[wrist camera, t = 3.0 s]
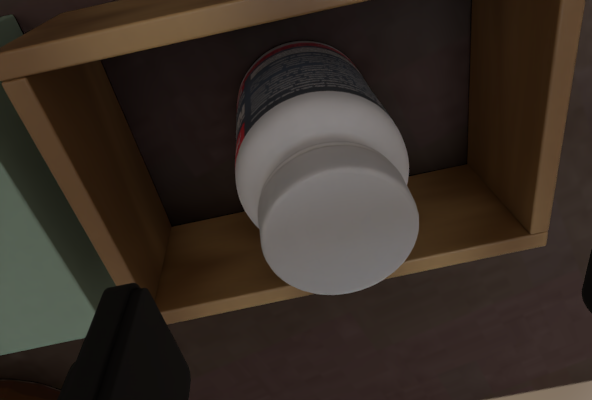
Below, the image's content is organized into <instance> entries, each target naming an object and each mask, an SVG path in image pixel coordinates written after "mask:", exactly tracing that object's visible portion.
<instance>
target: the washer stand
mask: <svg viewBox="0 0 592 400" xmlns="http://www.w3.org/2000/svg"><path fill="white" fill-rule="evenodd" d="M22 35H23V33H22V31H21V29H20V27H19V25H18V23H17V21H16V19H15V17H14V16H13V15H6V16H2V17H0V48H1V47H2V46H4V45H6V44H8V43H9V42H11V41H13V40H15V39H17V38H18V37H20V36H22ZM2 82H3V81H0V355H5V354H9V353H14V352H19V351H24V350H29V349H33V348H38V347H43V346H48V345H53V344H57V343H62V342H67V341H72V340H77V339H81V338H85V337H86V335H87V332H88V330H89V327H90V325H91V322H92V319H93V317H94V314H95V312H96V309H97V307H98V304H99V301H100V299H101V296H102V294H103V292H104V290H105V289H107V288H109V287H114V286H116V285H115V283H114V281H113V279H112V278H111V276H110V274H109V272H108V271H107V269H106V267H105V265H104V264H103V262H102V260H101V258H100V257H99V255H98V253H97V251H96V250H95V248H94V246H93V244H92V243H91V241H90V239H89V237H88V236H87V234H86V232H85V230H84V229H83V227H82V225H81V223H80V222H79V220H78V218H77V216H76V215H75V213H74V211H73V209H72V208H71V206H70V204H69V202H68V201H67V199H66V197H65V195H64V194H63V192H62V190H61V188H60V187H59V185H58V183H57V181H56V180H55V178H54V176H53V174H52V173H51V171H50V169H49V167H48V166H47V164H46V162H45V160H44V159H43V157H42V155H41V153H40V152H39V150H38V148H37V146H36V144H35V143H34V141H33V139H32V137H31V136H30V134H29V132H28V130H27V129H26V127H25V125H24V123H23V122H22V120H21V118H20V116H19V115H18V113H17V111H16V109H15V108H14V106H13V104H12V102H11V101H10V99H9V97H8V95H7V94H6V92H5V90H4V88H3V87H2V84H1V83H2Z"/></svg>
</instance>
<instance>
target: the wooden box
mask: <svg viewBox="0 0 592 400" xmlns="http://www.w3.org/2000/svg"><path fill="white" fill-rule="evenodd" d="M365 1H369V0H118V1H114V2H109V3H105V4H100V5H96V6H91V7H87V8H82V9H78V10H73V11H69V12H65V13H61V14H59V15H57V16H55V17H54V18H52V19H50V20H48V21H47V22H45V23H43V24H41V25H40V26H38V27H36V28H34V29H32V30H31V31H29V32H27V33H25V34H24V35H22V36H20V37H18V38H17V39H15V40H13V41H11V42H9V43H8V44H6V45H4V46H2V47H1V48H0V81H3V82H2V83H1V84H2V87H3V88H4V90H5V92H6V94H7V95H8V97H9V99H10V101H11V102H12V104H13V106H14V108H15V109H16V111H17V113H18V115H19V116H20V118H21V120H22V122H23V123H24V125H25V127H26V129H27V130H28V132H29V134H30V136H31V137H32V139H33V141H34V143H35V144H36V146H37V148H38V150H39V152H40V153H41V155H42V157H43V159H44V160H45V162H46V164H47V166H48V167H49V169H50V171H51V173H52V174H53V176H54V178H55V180H56V181H57V183H58V185H59V187H60V188H61V190H62V192H63V194H64V195H65V197H66V199H67V201H68V202H69V204H70V206H71V208H72V209H73V211H74V213H75V215H76V216H77V218H78V220H79V222H80V223H81V225H82V227H83V229H84V230H85V232H86V234H87V236H88V237H89V239H90V241H91V243H92V244H93V246H94V248H95V250H96V251H97V253H98V255H99V257H100V258H101V260H102V262H103V264H104V265H105V267H106V269H107V271H108V272H109V274H110V276H111V278H112V279H113V281H114V283H115V285H116V286H119V285H124V284H129V283H136V284H138V285H139V287H140V288H147V289H148V290H149V292H150V293H151V295H152V297H153V299H154V301H155V303H156V305H157V307H158V309H159V311H160V313H161V315H162V316H163V318H164V320H165V322H166V324H172V323H177V322H182V321H186V320H191V319H196V318H201V317H206V316H210V315H215V314H220V313H225V312H229V311H234V310H239V309H244V308H249V307H253V306H258V305H263V304H268V303H273V302H277V301H282V300H287V299H292V298H297V297H301V296H306V295H311V294H315V293H310V292H306V291H302V290H300V289H297V288H295V287H293V286H291V285H289V284H288V283H286V282H285V281H283V280H282V279H281V278H280V277H278V276H277V275H276V274H275V273H274V272H273V270H272V269H271V268H270V266H269V264H268V263H267V262H266V260H265V257H264V255H263V252H262V248H261V241H260V231H259V228H258V227H257V226H256V225H255V224H254V223H253V222H252V221H251V219H250V218H249V216H248V215H247V214H246V212H245V211H244V212H240V213H235V214H230V215H225V216H221V217H216V218H211V219H207V220H202V221H197V222H193V223H188V224H183V225H179V226H174V227H171V223H170V221H169V219H168V216H167V214H166V212H165V209H164V207H163V205H162V202H161V200H160V198H159V196H158V193H157V191H156V189H155V186H154V184H153V182H152V179H151V177H150V175H149V172H148V170H147V168H146V165H145V163H144V161H143V158H142V156H141V154H140V151H139V149H138V147H137V144H136V142H135V140H134V137H133V135H132V133H131V131H130V128H129V126H128V124H127V121H126V119H125V117H124V114H123V112H122V110H121V107H120V105H119V103H118V100H117V98H116V96H115V93H114V91H113V89H112V86H111V84H110V82H109V79H108V77H107V75H106V72H105V70H104V68H103V65H102V63H101V61H100V60H102V59H107V58H111V57H116V56H121V55H125V54H130V53H134V52H139V51H143V50H148V49H152V48H157V47H161V46H166V45H170V44H175V43H179V42H184V41H188V40H193V39H197V38H202V37H206V36H211V35H215V34H220V33H225V32H229V31H234V30H238V29H243V28H247V27H252V26H256V25H261V24H265V23H270V22H274V21H279V20H283V19H288V18H292V17H297V16H301V15H306V14H310V13H315V12H320V11H324V10H329V9H333V8H338V7H342V6H347V5H351V4H356V3H360V2H365ZM584 6H585V0H472V21H471V55H470V88H469V122H468V156H467V163H468V164H465V165H460V166H456V167H451V168H446V169H442V170H437V171H432V172H428V173H423V174H418V175H413V176H409V177H408V183H407V187H408V189H409V191H410V193H411V195H412V197H413V199H414V201H415V203H416V206H417V210H418V214H419V231H418V236H417V239H416V242H415V245H414V247H413V249H412V251H411V253H410V254H409V256H408V257H407V258H406V260H405V261H404V263H403V264H402V265H401V266H400V267H399V268H398V269H397V270H396V271H395V272H393V273H392V274H391V275H389V276H388V277H386V278H385V279H388V278H393V277H397V276H402V275H407V274H412V273H417V272H421V271H426V270H431V269H436V268H441V267H445V266H450V265H455V264H460V263H465V262H469V261H474V260H479V259H484V258H489V257H493V256H498V255H503V254H508V253H512V252H517V251H522V250H527V249H532V248H536V247H541V246H545V245H546V242H547V236H548V232H547V231H548V229H549V223H550V217H551V211H552V205H553V199H554V192H555V186H556V180H557V174H558V167H559V161H560V155H561V149H562V143H563V136H564V130H565V124H566V118H567V112H568V105H569V99H570V93H571V87H572V80H573V74H574V68H575V62H576V56H577V49H578V43H579V37H580V31H581V25H582V18H583V12H584Z"/></svg>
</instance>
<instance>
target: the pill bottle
mask: <svg viewBox="0 0 592 400" xmlns="http://www.w3.org/2000/svg"><path fill="white" fill-rule="evenodd" d="M236 124H237V125H236V152H235V179H236V187H237V192H238V196H239V199H240V202H241V204H242V206H243V208H244V210H245V212H246V214H247V215H248V216H249V218H250V219H251V221H252V222H253V223H254V224H255V225H256V226H257V227H258V228H259V231H260V241H261V248H262V252H263V255H264V257H265V260H266V262H267V263H268V264H269V266H270V268H271V269H272V270H273V272H274V273H275V274H276V275H277V276H278V277H280V278H281V279H282V280H283V281H285V282H286V283H288V284H289V285H291V286H293V287H295V288H297V289H300V290H302V291H306V292H310V293H315V294H321V295H339V294H347V293H352V292H355V291H360V290H363V289H365V288H368V287H370V286H373V285H375V284H377V283H378V282H380V281H382V280H384V279H385V278H386V277H388V276H389V275H391V274H392V273H393V272H395V271H396V270H397V269H398V268H399V267H400V266H401V265H402V264H403V263H404V261H405V260H406V258H407V257H408V256H409V254H410V253H411V251H412V249H413V247H414V245H415V242H416V239H417V236H418V231H419V214H418V210H417V206H416V203H415V201H414V199H413V197H412V195H411V193H410V191H409V189H408V187H407V183H408V177H409V159H408V153H407V150H406V146H405V143H404V141H403V138H402V136H401V134H400V132H399V130H398V128H397V126H396V125H395V123H394V121H393V120H392V118H391V116H390V115H389V114H388V112H387V111H386V110H385V108H384V107H383V106H382V104H381V103H380V102H379V100H378V99H377V97H376V96H375V95H374V93H373V92H372V90H371V89H370V87H369V86H368V84H367V83H366V81H365V80H364V78H363V76H362V75H361V73H360V72H359V70H358V69H357V67H356V66H355V65H354V64H353V63H352V62H351V60H350V59H349V58H348V57H347V56H345V55H344V54H343V53H342V52H340V51H339V50H337V49H335V48H333V47H331V46H329V45H327V44H323V43H320V42H314V41H294V42H289V43H285V44H282V45H279V46H277V47H275V48H273V49H271V50H269V51H268V52H266V53H265V54H263V55H262V56H261V57H260V58H259V59H257V60H256V61H255V62H254V64H253V65H252V66H251V67H250V69H249V70H248V71H247V73H246V75H245V76H244V78H243V80H242V83H241V85H240V89H239V93H238V99H237V121H236Z"/></svg>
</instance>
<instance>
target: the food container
mask: <svg viewBox="0 0 592 400" xmlns="http://www.w3.org/2000/svg"><path fill="white" fill-rule="evenodd" d="M60 392H61V390H58V389H55V388H52V387H49V386H46V385H43V384H40V383H33V382H26V381H20V380H0V400H57V399H58V397H59V394H60Z"/></svg>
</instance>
